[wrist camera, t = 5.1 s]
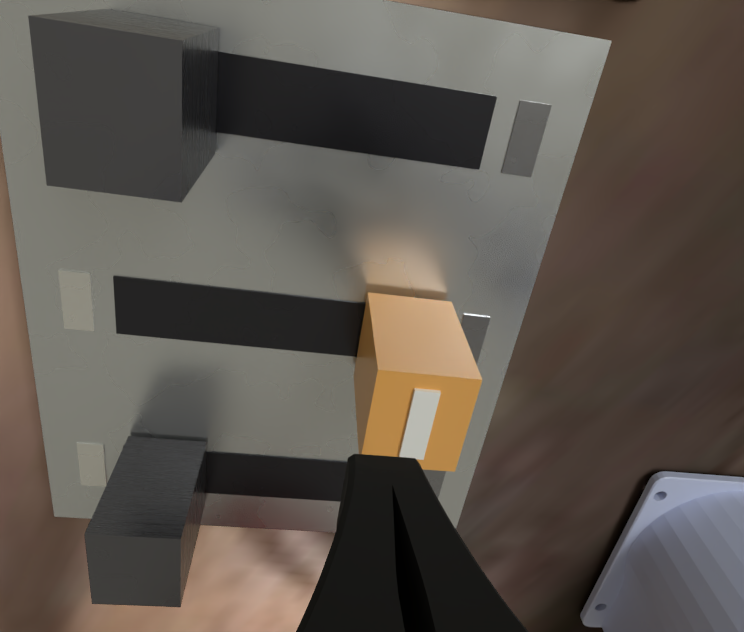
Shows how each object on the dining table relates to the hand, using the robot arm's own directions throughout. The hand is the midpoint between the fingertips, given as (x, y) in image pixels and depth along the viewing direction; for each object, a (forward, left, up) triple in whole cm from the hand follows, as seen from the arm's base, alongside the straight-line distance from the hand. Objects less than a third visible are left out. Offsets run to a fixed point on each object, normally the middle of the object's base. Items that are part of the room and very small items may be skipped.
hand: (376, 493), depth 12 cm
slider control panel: (0, +2, -8) cm, 9 cm away
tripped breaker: (0, -1, -6) cm, 6 cm away
